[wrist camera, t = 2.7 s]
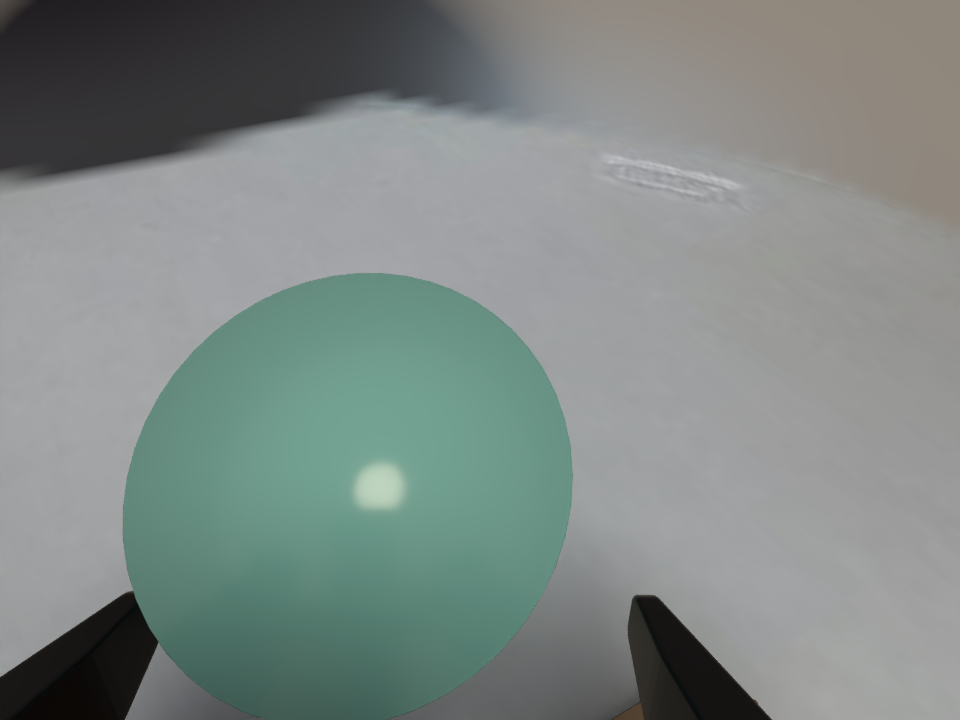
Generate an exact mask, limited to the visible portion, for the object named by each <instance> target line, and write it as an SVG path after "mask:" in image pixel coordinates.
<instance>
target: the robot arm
mask: <svg viewBox="0 0 960 720" xmlns="http://www.w3.org/2000/svg"><path fill="white" fill-rule="evenodd" d="M628 639H629V645H630V650H631V655H632V660H633V665H634V670H635V675H636V681H637V686H638V691H639V696H640V701H641V706H642V711H643V716H644V720H772V719H771V718H770V717H769V716H768V715H767V714H766V713H765V712H764V711H763V709H762V708H761V707H760V706H759V705H758V704H757V703H756V702H755V701H754V700H753V699H752V698H751V697H750V696H749V694H748V693H747V692H746V691H745V690H744V689H743V688H742V687H741V686H740V685H739V684H738V683H737V682H736V680H735V679H734V678H733V677H732V676H731V675H730V674H729V673H728V672H727V671H726V670H725V669H724V668H723V667H722V665H721V664H720V663H719V662H718V661H717V660H716V659H715V658H714V657H713V656H712V655H711V654H710V653H709V652H708V650H707V649H706V648H705V647H704V646H703V645H702V644H701V643H700V642H699V641H698V640H697V639H696V638H695V636H694V635H693V634H692V633H691V632H690V631H689V630H688V629H687V628H686V627H685V626H684V625H683V624H682V623H681V621H680V620H679V619H678V618H677V617H676V616H675V615H674V614H673V613H672V612H671V611H670V610H669V609H668V608H667V606H666V605H665V604H664V603H663V602H662V601H661V600H660V599H659V598H658V597H656V596H654V595H635V596H634V597H633V599H632V603H631V610H630V616H629V622H628ZM158 643H159V642H158V640H157V639H156V637H155V636H154V634H153V633H152V631H151V630H150V628H149V626H148V624H147V622H146V620H145V618H144V616H143V614H142V611H141V609H140V607H139V605H138V603H137V601H136V598H135V595H134V591H130V592H127V593H125V594H123V595H121V596H120V597H118V598H117V599H115V600H114V601H112V602H111V603H109V604H108V605H106V606H105V607H104V608H102V609H101V610H99V611H98V612H96V613H95V614H93V615H92V616H90V617H89V618H87V619H86V620H84V621H83V622H81V623H80V624H78V625H77V626H75V627H74V628H72V629H71V630H69V631H68V632H66V633H65V634H63V635H62V636H61V637H59V638H58V639H56V640H55V641H53V642H52V643H50V644H49V645H47V646H46V647H44V648H43V649H41V650H40V651H38V652H37V653H35V654H34V655H32V656H31V657H29V658H28V659H26V660H25V661H23V662H22V663H21V664H19V665H18V666H16V667H15V668H13V669H12V670H10V671H9V672H7V673H6V674H4V675H3V676H1V677H0V720H125V718H126V716H127V713H128V711H129V709H130V707H131V705H132V702H133V700H134V698H135V695H136V693H137V691H138V688H139V686H140V684H141V682H142V679H143V677H144V675H145V672H146V670H147V668H148V666H149V663H150V661H151V659H152V656H153V654H154V652H155V650H156V647H157V645H158Z"/></svg>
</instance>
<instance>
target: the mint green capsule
mask: <svg viewBox="0 0 960 720" xmlns="http://www.w3.org/2000/svg"><path fill="white" fill-rule="evenodd" d="M572 480H573V472H572V459H571V446H570V441H569V437H568V432H567V427H566V422H565V418H564V415H563V412H562V410H561V407H560V404H559V401H558V398H557V395H556V393H555V391H554V389H553V387H552V385H551V383H550V381H549V379H548V377H547V375H546V373H545V371H544V369H543V368H542V366H541V365H540V363H539V362H538V360H537V359H536V358H535V356H534V355H533V353H532V352H531V350H530V349H529V348H528V347H527V345H526V344H525V343H524V342H523V341H522V340H521V339H520V338H519V336H518V335H517V334H516V333H515V332H514V331H513V330H512V329H511V328H510V327H509V326H508V325H506V324H505V323H504V322H503V321H502V320H501V319H499V318H498V317H497V316H496V315H495V314H494V313H492V312H491V311H489V310H488V309H486V308H485V307H483V306H482V305H480V304H479V303H477V302H476V301H474V300H472V299H470V298H468V297H466V296H464V295H462V294H460V293H458V292H456V291H454V290H452V289H449V288H447V287H444V286H441V285H438V284H435V283H433V282H430V281H426V280H421V279H417V278H412V277H408V276H402V275H392V274H383V273H356V274H347V275H339V276H331V277H327V278H322V279H318V280H314V281H309V282H305V283H303V284H300V285H297V286H294V287H291V288H288V289H285V290H282V291H280V292H278V293H276V294H274V295H272V296H270V297H267V298H265V299H263V300H261V301H259V302H257V303H256V304H254V305H252V306H251V307H249V308H247V309H246V310H244V311H242V312H241V313H239V314H237V315H236V316H234V317H233V318H232V319H230V320H229V321H228V322H226V323H225V324H224V325H222V326H221V327H220V328H219V329H217V330H216V331H215V332H213V333H212V334H211V335H210V336H209V337H208V338H207V339H206V340H205V341H204V342H203V343H202V344H201V345H200V346H198V347H197V348H196V349H195V350H194V351H193V352H192V354H191V355H190V356H189V357H188V358H187V359H186V360H185V362H184V363H183V364H182V365H181V366H180V367H179V369H178V370H177V371H176V372H175V374H174V375H173V376H172V378H171V379H170V381H169V382H168V384H167V385H166V387H165V388H164V390H163V391H162V392H161V394H160V395H159V397H158V399H157V401H156V403H155V405H154V406H153V408H152V410H151V412H150V414H149V416H148V418H147V420H146V421H145V424H144V426H143V429H142V431H141V434H140V436H139V439H138V442H137V444H136V447H135V449H134V453H133V457H132V461H131V464H130V468H129V472H128V476H127V481H126V489H125V497H124V504H123V543H124V550H125V557H126V564H127V570H128V574H129V577H130V581H131V584H132V588H133V591H134V595H135V598H136V601H137V603H138V605H139V607H140V609H141V611H142V614H143V616H144V618H145V620H146V622H147V624H148V626H149V628H150V630H151V631H152V633H153V634H154V636H155V637H156V639H157V640H158V642H159V643H160V645H161V646H162V648H163V649H164V651H165V652H166V654H167V655H168V656H169V657H170V658H171V659H172V660H173V661H174V662H175V663H176V664H177V665H178V666H179V668H180V669H181V670H182V671H183V672H184V673H185V674H186V675H187V676H188V677H189V678H190V679H192V680H193V681H194V682H196V683H197V684H198V685H199V686H201V687H202V688H203V689H205V690H206V691H207V692H209V693H210V694H211V695H213V696H214V697H216V698H218V699H219V700H221V701H223V702H225V703H227V704H229V705H231V706H233V707H235V708H237V709H239V710H240V711H242V712H245V713H248V714H251V715H254V716H257V717H260V718H263V719H266V720H386V719H389V718H392V717H396V716H399V715H402V714H405V713H408V712H411V711H414V710H416V709H418V708H420V707H422V706H424V705H426V704H428V703H430V702H432V701H434V700H436V699H438V698H440V697H442V696H444V695H446V694H447V693H449V692H450V691H452V690H453V689H455V688H456V687H458V686H459V685H461V684H462V683H463V682H465V681H466V680H468V679H469V678H471V677H472V676H474V675H475V674H476V673H477V672H478V671H479V670H481V669H482V668H483V667H484V666H485V665H486V664H487V663H488V662H489V661H491V660H492V659H493V658H494V657H495V656H496V655H497V654H498V653H499V652H500V651H501V650H502V649H503V648H504V647H505V646H506V644H507V643H508V642H509V641H510V640H511V639H512V637H513V636H514V635H515V634H516V633H517V631H518V630H519V629H520V628H521V627H522V626H523V624H524V623H525V621H526V620H527V618H528V616H529V615H530V613H531V612H532V610H533V609H534V607H535V606H536V604H537V602H538V601H539V599H540V598H541V596H542V594H543V592H544V590H545V588H546V586H547V583H548V581H549V579H550V577H551V575H552V573H553V571H554V569H555V567H556V564H557V560H558V557H559V554H560V551H561V548H562V545H563V542H564V539H565V536H566V530H567V525H568V519H569V514H570V509H571V498H572Z"/></svg>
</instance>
